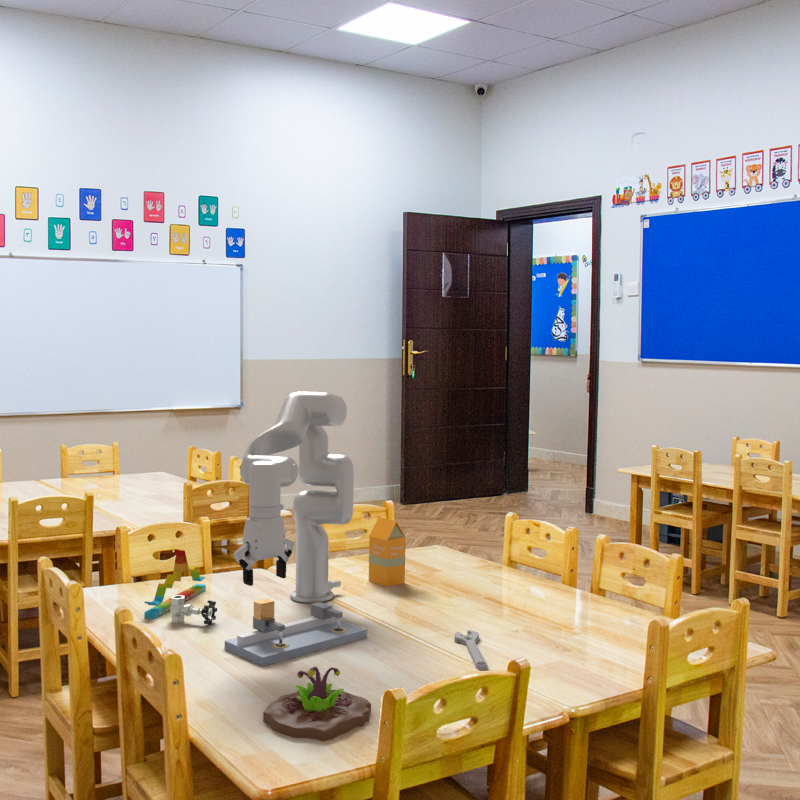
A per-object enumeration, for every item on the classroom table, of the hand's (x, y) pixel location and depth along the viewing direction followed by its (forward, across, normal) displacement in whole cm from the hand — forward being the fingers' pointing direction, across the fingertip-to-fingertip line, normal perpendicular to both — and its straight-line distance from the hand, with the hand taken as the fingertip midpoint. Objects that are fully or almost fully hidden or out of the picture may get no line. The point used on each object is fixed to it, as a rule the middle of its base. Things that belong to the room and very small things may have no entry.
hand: (264, 580), depth 222 cm
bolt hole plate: (+16, -7, +4) cm, 18 cm away
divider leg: (+14, +1, +3) cm, 14 cm away
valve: (+17, +4, -28) cm, 33 cm away
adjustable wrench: (+17, -35, +36) cm, 53 cm away
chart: (+18, -2, -47) cm, 50 cm away
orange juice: (+18, -64, -25) cm, 71 cm away
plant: (+16, +18, +43) cm, 49 cm away
